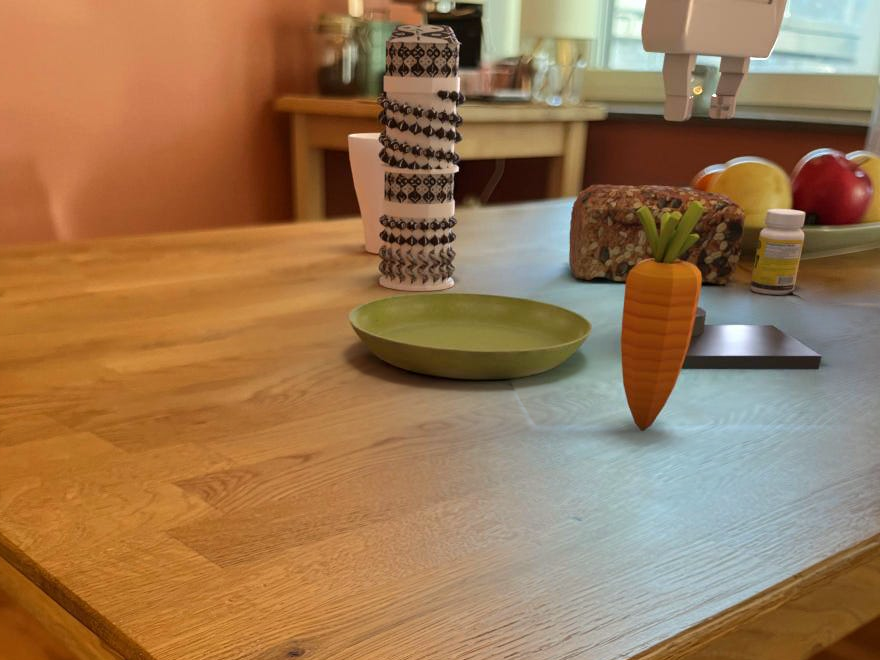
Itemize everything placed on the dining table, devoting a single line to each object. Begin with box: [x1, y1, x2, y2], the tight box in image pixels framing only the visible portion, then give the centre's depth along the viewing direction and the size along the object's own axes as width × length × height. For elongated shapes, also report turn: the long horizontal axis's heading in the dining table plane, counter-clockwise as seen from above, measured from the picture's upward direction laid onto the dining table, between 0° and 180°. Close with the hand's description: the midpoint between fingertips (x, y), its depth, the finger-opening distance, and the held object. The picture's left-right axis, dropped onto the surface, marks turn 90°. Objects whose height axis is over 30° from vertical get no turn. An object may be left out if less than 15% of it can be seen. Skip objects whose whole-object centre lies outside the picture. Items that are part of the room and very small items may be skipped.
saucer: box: [347, 292, 593, 381], centre depth 87 cm, size 21×21×3 cm
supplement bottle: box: [750, 208, 806, 296], centre depth 113 cm, size 5×5×8 cm
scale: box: [681, 306, 823, 370], centre depth 90 cm, size 14×12×3 cm
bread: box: [568, 183, 746, 285], centre depth 118 cm, size 19×11×10 cm, turn 88°
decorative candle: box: [376, 23, 467, 292], centre depth 108 cm, size 9×9×25 cm
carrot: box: [620, 201, 704, 432], centre depth 68 cm, size 5×5×15 cm
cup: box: [347, 132, 385, 255], centre depth 129 cm, size 10×10×14 cm
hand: (699, 119), depth 85 cm, fingers open, 8 cm apart
